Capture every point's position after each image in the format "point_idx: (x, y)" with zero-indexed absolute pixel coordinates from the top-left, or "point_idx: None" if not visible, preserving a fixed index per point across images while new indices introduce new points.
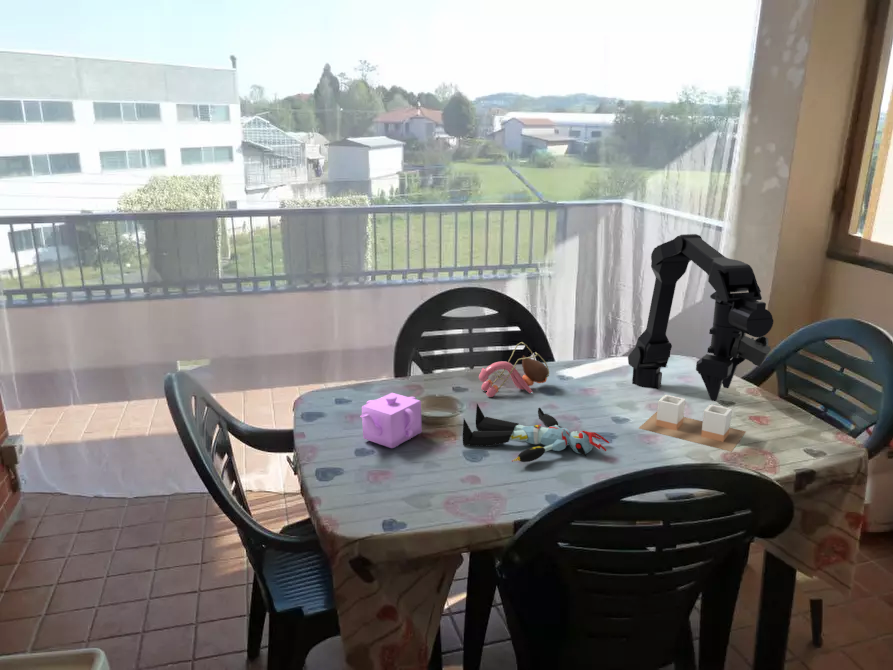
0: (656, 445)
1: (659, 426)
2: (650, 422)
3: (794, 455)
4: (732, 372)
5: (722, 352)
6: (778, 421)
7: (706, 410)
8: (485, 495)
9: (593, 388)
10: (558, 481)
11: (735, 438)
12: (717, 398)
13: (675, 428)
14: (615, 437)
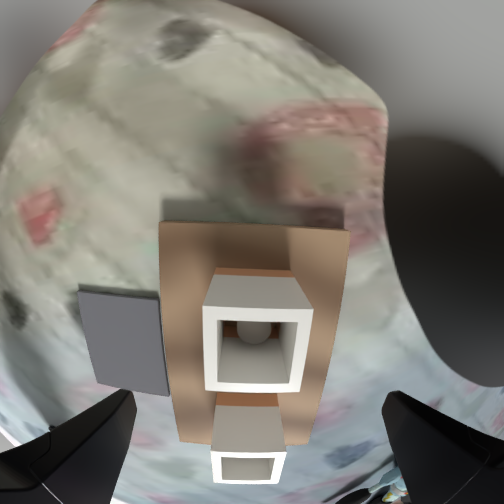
0: (353, 393)
1: None
2: None
3: (229, 70)
4: (76, 460)
5: None
6: (29, 171)
7: (288, 386)
8: (497, 420)
9: (147, 496)
10: (481, 406)
11: (239, 240)
12: (400, 397)
13: (277, 398)
14: (343, 446)
